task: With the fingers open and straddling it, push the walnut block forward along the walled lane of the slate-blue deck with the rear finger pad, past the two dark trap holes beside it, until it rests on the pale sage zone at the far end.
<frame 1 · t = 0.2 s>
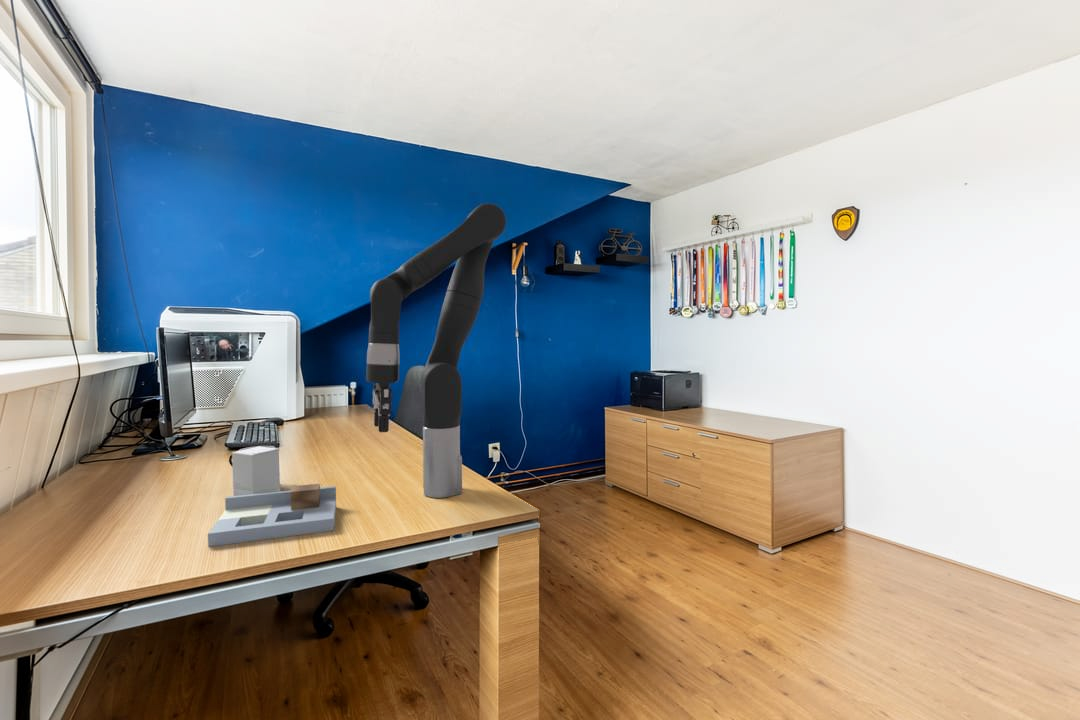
hand: (380, 429, 119), 17 cm above the table, tool pointing down, fingers open, 8 cm apart
walnut block: (306, 505, 109), point 2 cm above the table, touching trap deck
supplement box: (257, 502, 119), on the table
coffee mug: (254, 486, 132), on the table
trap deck: (278, 524, 104), on the table
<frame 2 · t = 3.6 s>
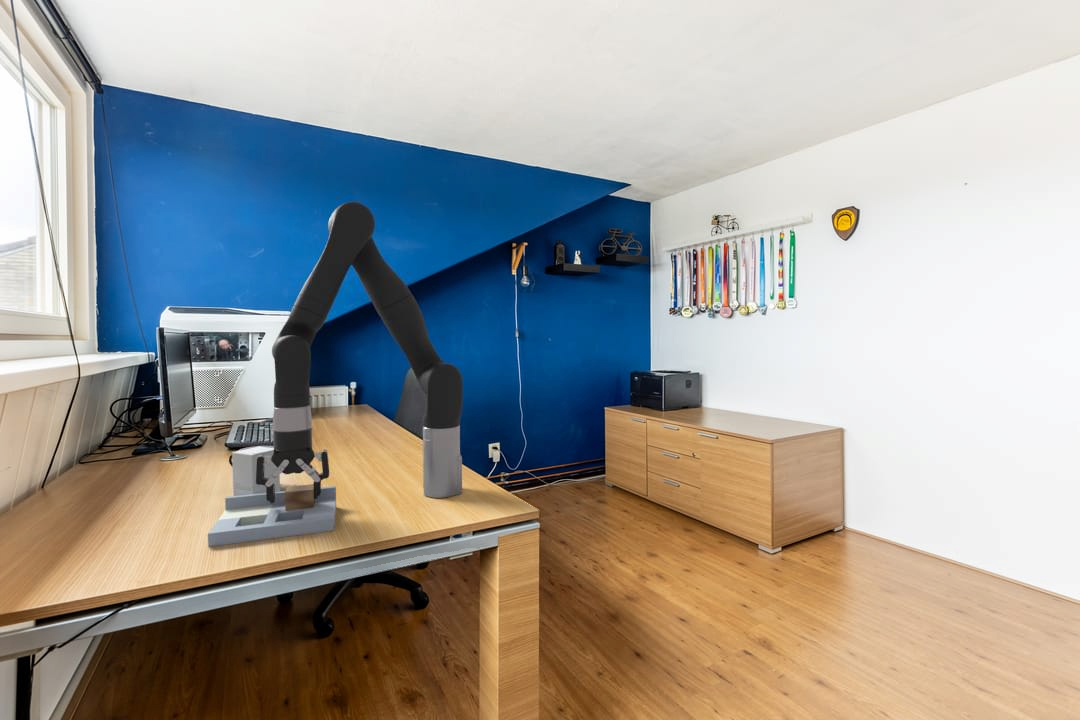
hand: (294, 500, 108), 4 cm above the table, tool pointing down, fingers open, 8 cm apart
walnut block: (300, 506, 108), point 3 cm above the table, touching gripper
everything else where it was.
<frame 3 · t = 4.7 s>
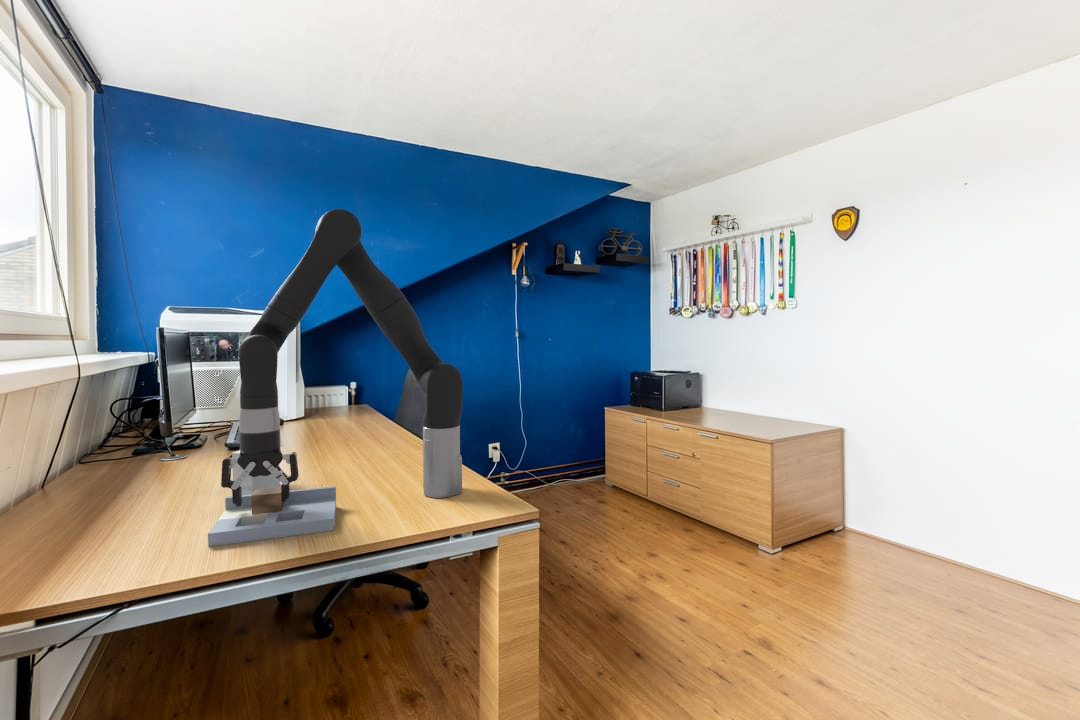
hand: (261, 503, 106), 4 cm above the table, tool pointing down, fingers open, 8 cm apart
walnut block: (268, 509, 106), point 3 cm above the table, touching gripper, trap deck
everything else where it was.
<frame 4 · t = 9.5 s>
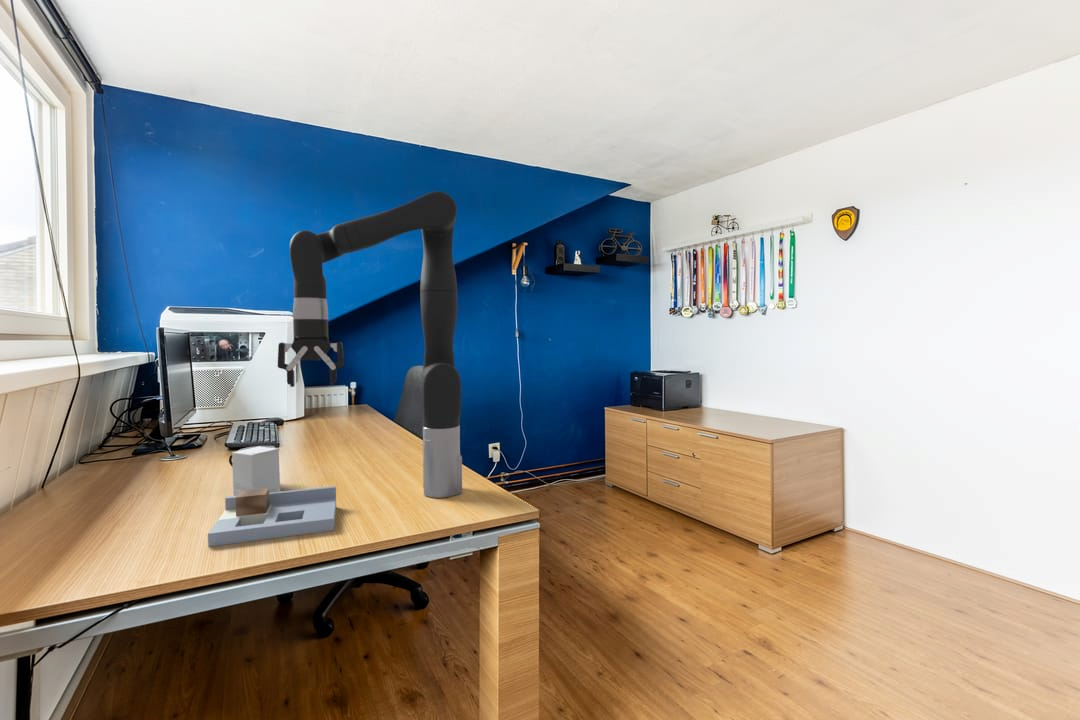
hand: (312, 385, 118), 28 cm above the table, tool pointing down, fingers open, 8 cm apart
walnut block: (253, 511, 105), point 2 cm above the table, touching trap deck
everything else where it was.
at the end: walnut block 0.7 cm from the target spot, point 2.5 cm above the table; walnut block tilted 0°; walnut block moved 10.3 cm from its start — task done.
